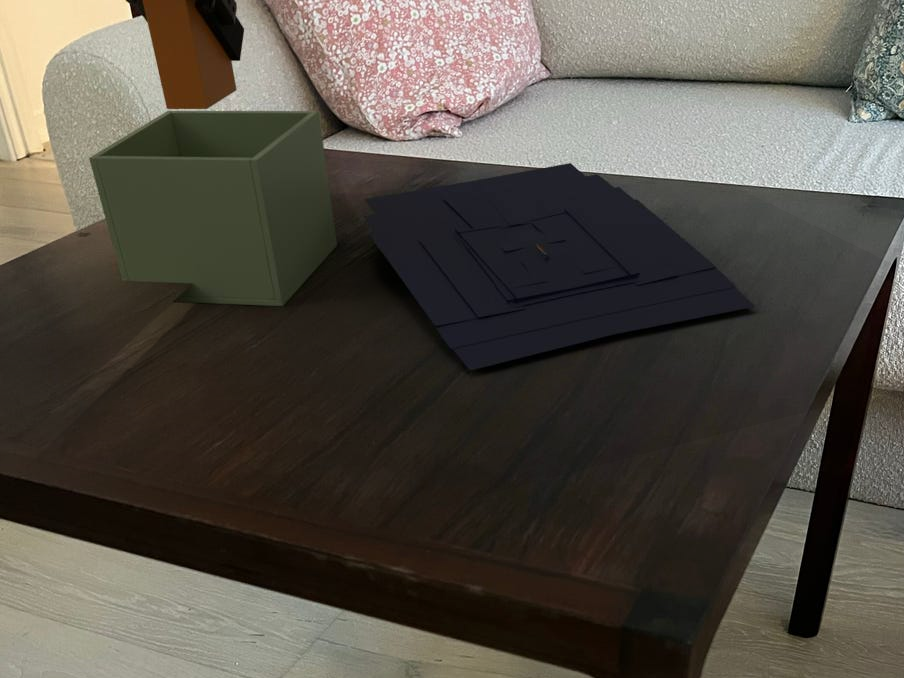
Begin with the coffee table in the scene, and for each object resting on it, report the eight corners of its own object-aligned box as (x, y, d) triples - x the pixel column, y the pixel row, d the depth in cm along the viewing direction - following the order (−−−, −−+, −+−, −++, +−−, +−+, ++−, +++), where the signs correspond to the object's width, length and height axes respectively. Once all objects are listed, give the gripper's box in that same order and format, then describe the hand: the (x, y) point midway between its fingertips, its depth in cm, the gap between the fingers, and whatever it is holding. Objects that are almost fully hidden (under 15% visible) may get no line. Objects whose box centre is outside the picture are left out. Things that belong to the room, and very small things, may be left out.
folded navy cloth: (586, 188, 102) (589, 150, 100) (752, 337, 83) (761, 294, 80) (347, 232, 96) (343, 192, 94) (466, 404, 77) (465, 360, 74)
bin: (127, 300, 90) (88, 157, 82) (196, 241, 100) (167, 110, 93) (282, 306, 87) (257, 159, 80) (337, 245, 98) (318, 110, 90)
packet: (165, 109, 83) (132, -41, 76) (197, 90, 87) (168, -53, 81) (207, 109, 82) (177, -42, 76) (238, 90, 87) (211, -54, 80)
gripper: (-90, -143, 64) (114, 89, 87) (159, -157, 61) (303, 88, 84) (-71, -257, 65) (127, 4, 87) (177, -278, 61) (315, -1, 84)
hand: (213, 45), depth 85 cm, fingers closed on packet, 4 cm apart
